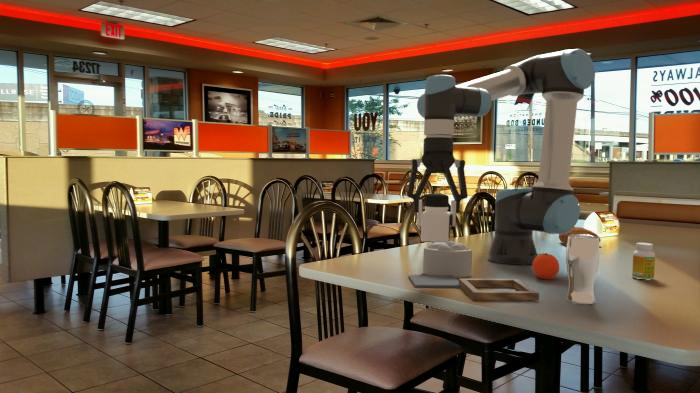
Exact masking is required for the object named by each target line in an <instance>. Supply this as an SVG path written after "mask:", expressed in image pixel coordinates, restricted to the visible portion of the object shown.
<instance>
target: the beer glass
mask: <svg viewBox="0 0 700 393" xmlns="http://www.w3.org/2000/svg"><path fill="white" fill-rule="evenodd" d="M599 238H600V236H599V237H597V236H591V235H568V240H567V245H566V250H565V262H566V272H567V277H568V279H567V280H568V287H567V288H568V289H567V294H566V298H565V301H567V302H568V301H569V303H570V302H572V303H571V304H574V303H579V304H578V305H580V304H591V303H594V304H595V303H596V299H595V298H596V297H595V293H594V288H595V287H594V286H595V281H596V276H597V272H598V268H599V262H600V242H599Z"/></svg>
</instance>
